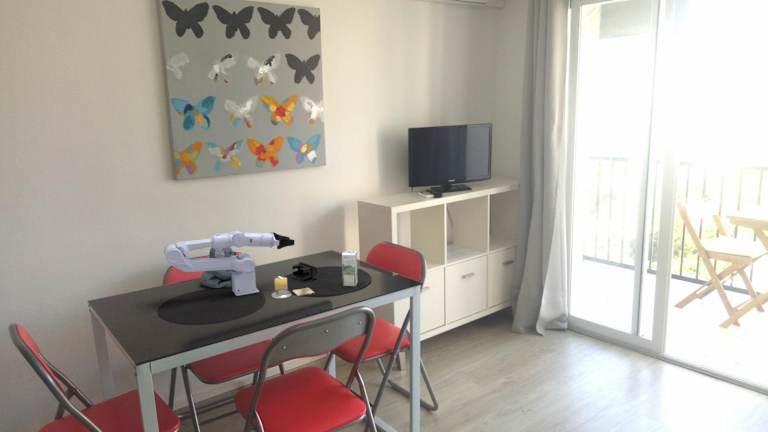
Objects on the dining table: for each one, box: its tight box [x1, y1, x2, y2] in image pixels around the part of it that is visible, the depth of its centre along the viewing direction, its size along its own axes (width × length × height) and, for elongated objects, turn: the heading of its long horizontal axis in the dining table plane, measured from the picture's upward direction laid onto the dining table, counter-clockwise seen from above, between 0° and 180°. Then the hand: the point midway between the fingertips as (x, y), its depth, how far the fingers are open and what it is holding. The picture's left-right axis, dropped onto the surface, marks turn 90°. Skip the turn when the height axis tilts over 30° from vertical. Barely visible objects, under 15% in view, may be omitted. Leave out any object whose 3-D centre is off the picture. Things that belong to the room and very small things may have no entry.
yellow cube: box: [274, 275, 288, 291], centre depth 222 cm, size 5×5×5 cm
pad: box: [292, 287, 315, 297], centre depth 226 cm, size 7×7×1 cm
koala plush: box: [200, 247, 237, 289], centre depth 237 cm, size 17×18×20 cm
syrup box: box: [341, 250, 358, 288], centre depth 233 cm, size 6×6×14 cm
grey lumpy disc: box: [271, 287, 293, 300], centre depth 222 cm, size 8×8×3 cm
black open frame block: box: [291, 261, 319, 283], centre depth 243 cm, size 10×7×7 cm
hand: (291, 241), depth 232 cm, fingers open, 7 cm apart
